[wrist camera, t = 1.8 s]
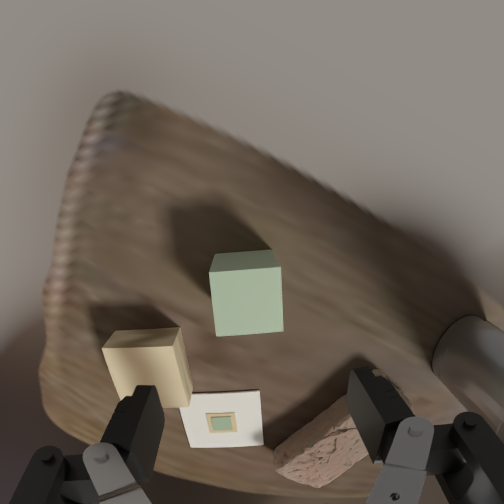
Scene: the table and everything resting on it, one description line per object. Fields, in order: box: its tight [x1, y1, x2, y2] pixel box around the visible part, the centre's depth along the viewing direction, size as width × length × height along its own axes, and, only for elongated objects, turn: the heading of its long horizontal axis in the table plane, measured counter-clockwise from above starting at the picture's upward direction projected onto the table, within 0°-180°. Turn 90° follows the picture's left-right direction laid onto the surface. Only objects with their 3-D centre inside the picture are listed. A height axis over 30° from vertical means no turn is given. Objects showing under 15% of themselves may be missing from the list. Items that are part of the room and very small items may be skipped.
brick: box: [273, 369, 414, 488], centre depth 30 cm, size 17×8×5 cm, turn 137°
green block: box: [209, 250, 283, 336], centre depth 25 cm, size 5×5×6 cm
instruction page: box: [179, 390, 264, 448], centre depth 31 cm, size 9×9×1 cm
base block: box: [102, 327, 193, 408], centre depth 28 cm, size 7×7×4 cm
